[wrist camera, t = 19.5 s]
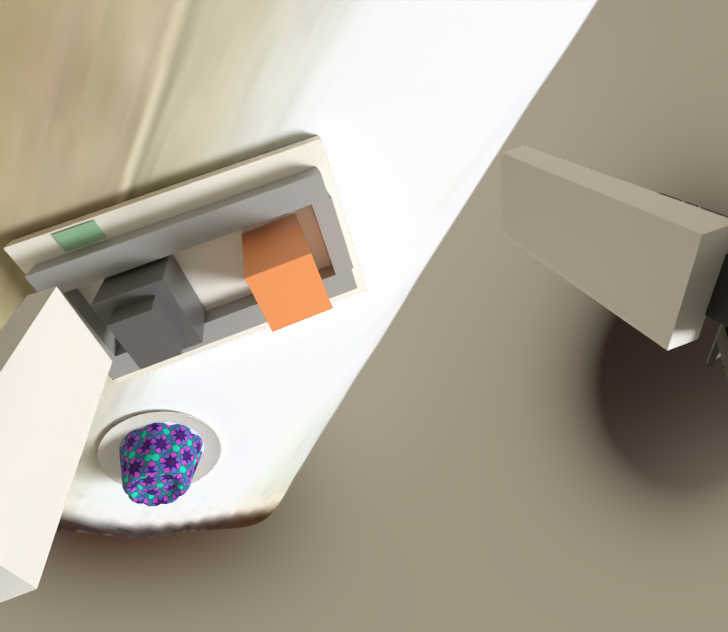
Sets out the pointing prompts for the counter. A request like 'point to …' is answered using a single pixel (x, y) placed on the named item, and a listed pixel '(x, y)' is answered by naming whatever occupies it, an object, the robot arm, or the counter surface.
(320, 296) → the block
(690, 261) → the robot arm
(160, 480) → the pudding
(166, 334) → the handle
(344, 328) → the counter surface
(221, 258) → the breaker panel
